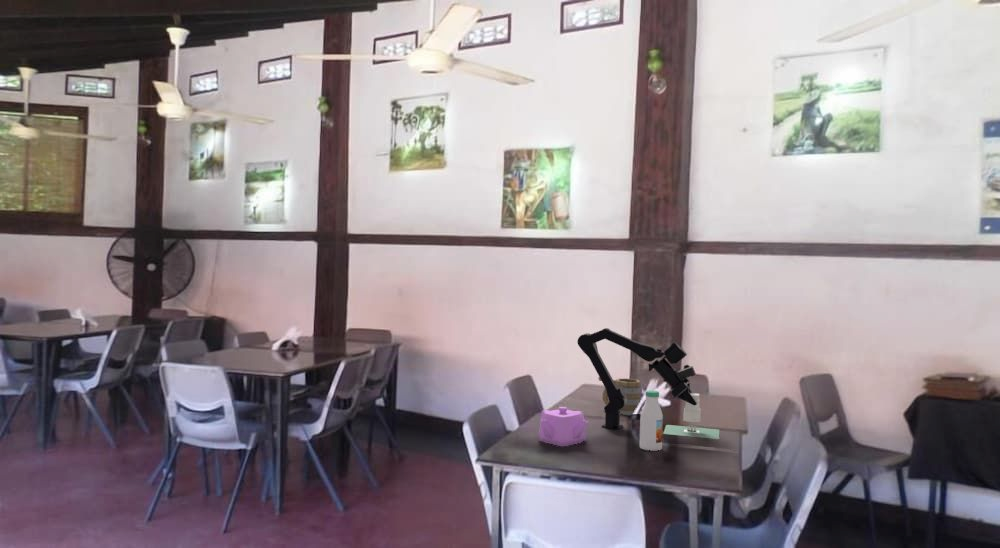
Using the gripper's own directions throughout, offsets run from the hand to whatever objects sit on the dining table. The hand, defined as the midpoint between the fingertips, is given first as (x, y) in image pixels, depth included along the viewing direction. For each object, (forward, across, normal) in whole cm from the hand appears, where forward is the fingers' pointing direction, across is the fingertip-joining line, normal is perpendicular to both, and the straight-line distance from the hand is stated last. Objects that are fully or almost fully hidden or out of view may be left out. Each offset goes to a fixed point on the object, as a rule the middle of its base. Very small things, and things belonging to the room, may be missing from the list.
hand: (696, 403), depth 263 cm
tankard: (-15, +32, +32) cm, 48 cm away
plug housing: (+4, 0, +6) cm, 7 cm away
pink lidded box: (-23, -30, +40) cm, 55 cm away
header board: (+8, 0, +9) cm, 12 cm away
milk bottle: (-1, -27, +18) cm, 33 cm away
